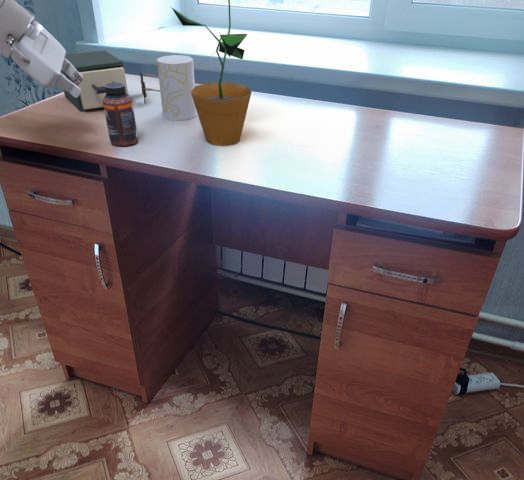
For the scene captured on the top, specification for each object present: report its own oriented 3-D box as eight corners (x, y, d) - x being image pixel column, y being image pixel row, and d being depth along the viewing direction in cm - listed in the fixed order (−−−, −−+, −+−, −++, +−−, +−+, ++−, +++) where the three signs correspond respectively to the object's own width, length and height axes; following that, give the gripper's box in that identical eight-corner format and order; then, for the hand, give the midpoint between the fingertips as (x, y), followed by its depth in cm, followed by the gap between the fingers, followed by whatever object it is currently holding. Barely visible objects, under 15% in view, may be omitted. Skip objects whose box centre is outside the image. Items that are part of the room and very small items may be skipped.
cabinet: (129, 103, 129) (122, 61, 122) (80, 111, 124) (70, 67, 117) (111, 90, 137) (104, 50, 131) (65, 97, 132) (55, 55, 126)
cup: (156, 117, 121) (150, 61, 113) (173, 108, 127) (168, 53, 119) (186, 122, 119) (182, 65, 111) (202, 112, 124) (198, 57, 116)
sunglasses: (141, 91, 137) (140, 71, 134) (195, 93, 140) (195, 73, 137) (145, 107, 127) (143, 85, 123) (203, 109, 130) (204, 88, 127)
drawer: (136, 108, 123) (131, 72, 118) (90, 115, 119) (83, 78, 114) (112, 90, 134) (107, 57, 129) (70, 96, 130) (62, 62, 125)
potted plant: (214, 120, 120) (207, -38, 100) (280, 137, 112) (285, -31, 92) (162, 142, 109) (141, -31, 89) (230, 162, 101) (224, -22, 81)
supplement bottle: (143, 139, 110) (135, 82, 102) (129, 149, 106) (119, 90, 98) (120, 135, 112) (110, 79, 104) (104, 144, 107) (93, 87, 100)
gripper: (13, 26, 82) (88, 89, 90) (27, 6, 97) (91, 62, 105) (-7, 58, 84) (68, 116, 92) (10, 34, 99) (74, 86, 107)
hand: (80, 87), depth 99 cm, fingers open, 8 cm apart
